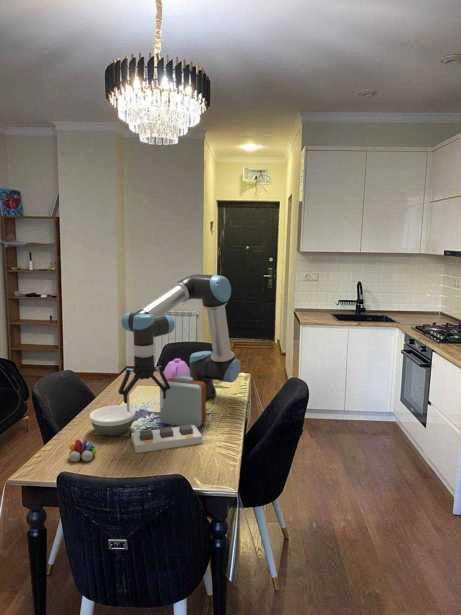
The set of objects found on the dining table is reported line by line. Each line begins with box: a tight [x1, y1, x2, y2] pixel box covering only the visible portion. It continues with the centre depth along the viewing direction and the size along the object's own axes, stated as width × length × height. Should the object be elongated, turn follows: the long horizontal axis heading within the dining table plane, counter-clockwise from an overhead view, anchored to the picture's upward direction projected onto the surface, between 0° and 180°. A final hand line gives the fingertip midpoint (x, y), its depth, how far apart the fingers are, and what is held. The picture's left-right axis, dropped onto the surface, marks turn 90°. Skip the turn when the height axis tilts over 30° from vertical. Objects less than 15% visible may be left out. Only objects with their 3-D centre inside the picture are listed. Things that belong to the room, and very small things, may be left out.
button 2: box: [178, 425, 193, 435], centre depth 188 cm, size 4×4×3 cm
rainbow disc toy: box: [68, 438, 97, 463], centre depth 172 cm, size 8×10×7 cm
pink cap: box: [163, 358, 190, 380], centre depth 267 cm, size 22×16×12 cm
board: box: [131, 425, 203, 454], centre depth 186 cm, size 26×12×3 cm, turn 110°
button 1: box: [139, 429, 153, 441], centre depth 183 cm, size 4×4×3 cm
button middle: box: [159, 426, 173, 438], centre depth 186 cm, size 4×4×3 cm
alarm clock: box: [159, 376, 207, 429], centre depth 204 cm, size 18×9×21 cm, turn 71°
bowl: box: [89, 404, 137, 437], centre depth 195 cm, size 19×19×8 cm
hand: (145, 408), depth 181 cm, fingers open, 12 cm apart
